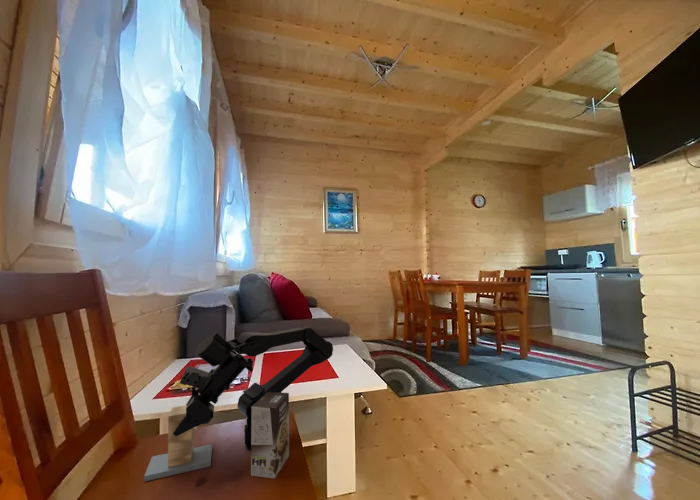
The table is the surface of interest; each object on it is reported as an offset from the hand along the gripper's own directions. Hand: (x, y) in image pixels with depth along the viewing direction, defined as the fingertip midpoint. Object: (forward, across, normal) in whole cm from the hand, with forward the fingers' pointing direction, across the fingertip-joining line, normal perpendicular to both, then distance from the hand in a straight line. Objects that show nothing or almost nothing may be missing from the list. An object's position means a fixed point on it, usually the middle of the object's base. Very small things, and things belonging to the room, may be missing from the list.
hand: (177, 425), depth 78 cm
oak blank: (+5, 0, +6) cm, 8 cm away
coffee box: (-8, +9, +22) cm, 26 cm away
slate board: (+6, 0, +7) cm, 10 cm away
